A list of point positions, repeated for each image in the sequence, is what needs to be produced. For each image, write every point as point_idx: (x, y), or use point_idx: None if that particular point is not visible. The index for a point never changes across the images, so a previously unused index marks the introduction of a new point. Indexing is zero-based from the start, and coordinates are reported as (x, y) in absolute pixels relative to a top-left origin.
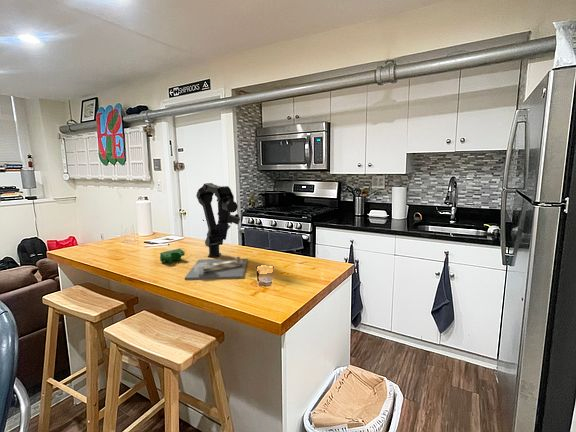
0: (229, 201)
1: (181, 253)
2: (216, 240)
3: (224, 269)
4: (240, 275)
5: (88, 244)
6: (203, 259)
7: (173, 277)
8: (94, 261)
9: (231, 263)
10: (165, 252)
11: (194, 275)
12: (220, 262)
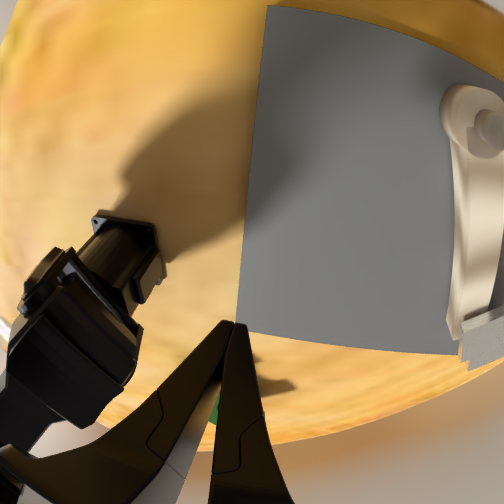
0: None
1: (219, 396)
2: (108, 327)
3: None
4: None
5: (107, 426)
6: (237, 311)
7: (424, 375)
8: (209, 446)
9: (502, 186)
10: None
11: None
12: (469, 259)
